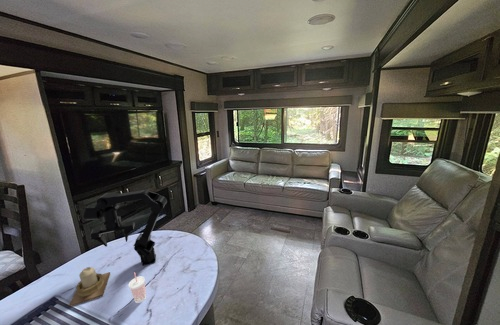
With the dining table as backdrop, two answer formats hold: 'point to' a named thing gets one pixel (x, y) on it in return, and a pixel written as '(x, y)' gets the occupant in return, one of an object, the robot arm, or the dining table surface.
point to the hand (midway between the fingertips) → (116, 243)
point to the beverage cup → (138, 288)
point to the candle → (88, 277)
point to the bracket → (90, 290)
